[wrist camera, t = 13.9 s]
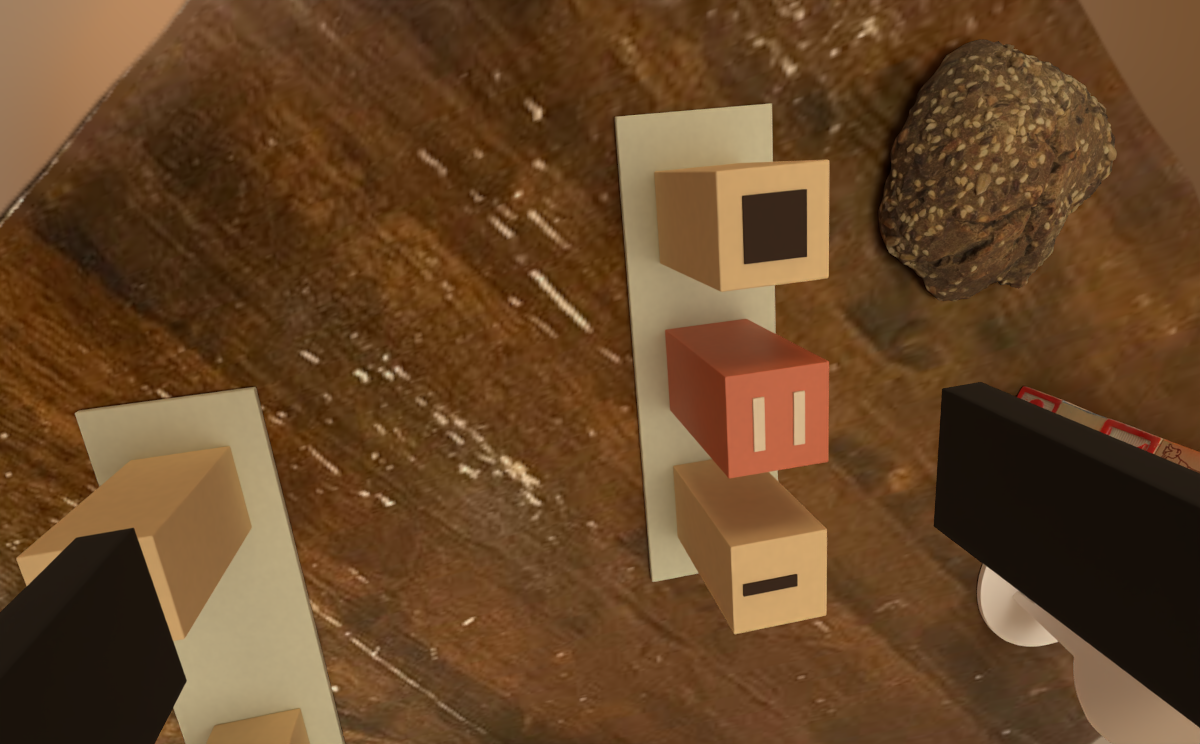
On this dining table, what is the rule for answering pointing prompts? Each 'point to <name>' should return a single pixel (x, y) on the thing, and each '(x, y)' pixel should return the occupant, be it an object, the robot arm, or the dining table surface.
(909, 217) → the bread roll
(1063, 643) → the panda figurine
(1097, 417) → the stack of blocks
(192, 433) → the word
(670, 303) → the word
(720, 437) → the equals sign block
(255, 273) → the dining table surface
